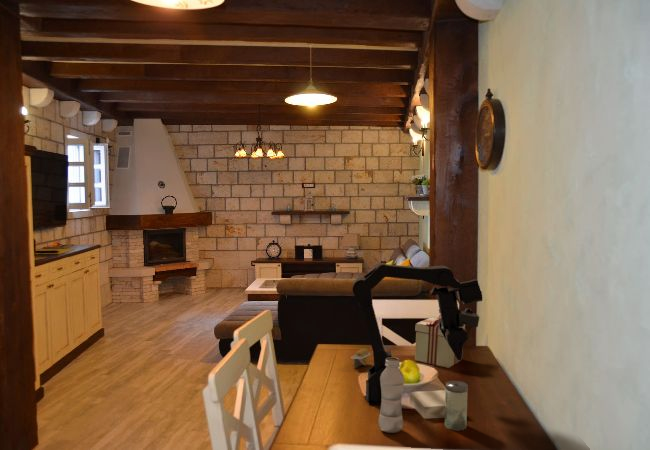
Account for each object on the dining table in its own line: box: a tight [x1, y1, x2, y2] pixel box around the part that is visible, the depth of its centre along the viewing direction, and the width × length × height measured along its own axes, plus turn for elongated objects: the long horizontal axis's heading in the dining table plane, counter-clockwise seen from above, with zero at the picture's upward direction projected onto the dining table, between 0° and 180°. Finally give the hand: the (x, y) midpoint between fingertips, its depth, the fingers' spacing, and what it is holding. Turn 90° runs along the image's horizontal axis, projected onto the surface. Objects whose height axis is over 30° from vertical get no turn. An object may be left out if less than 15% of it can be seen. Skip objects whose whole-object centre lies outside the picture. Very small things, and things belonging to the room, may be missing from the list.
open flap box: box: [350, 347, 371, 370], centre depth 203 cm, size 12×18×7 cm, turn 148°
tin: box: [444, 380, 469, 432], centre depth 151 cm, size 6×6×12 cm
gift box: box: [414, 314, 466, 369], centre depth 212 cm, size 17×18×17 cm
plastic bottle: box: [378, 356, 405, 434], centre depth 147 cm, size 6×7×20 cm
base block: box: [409, 389, 446, 420], centre depth 163 cm, size 12×12×4 cm
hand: (457, 355), depth 167 cm, fingers open, 9 cm apart
